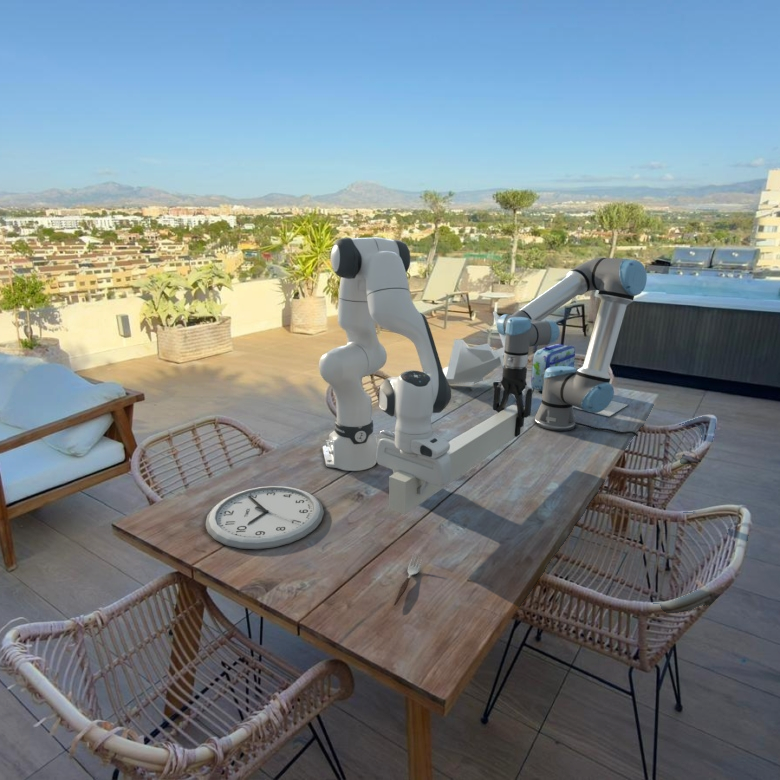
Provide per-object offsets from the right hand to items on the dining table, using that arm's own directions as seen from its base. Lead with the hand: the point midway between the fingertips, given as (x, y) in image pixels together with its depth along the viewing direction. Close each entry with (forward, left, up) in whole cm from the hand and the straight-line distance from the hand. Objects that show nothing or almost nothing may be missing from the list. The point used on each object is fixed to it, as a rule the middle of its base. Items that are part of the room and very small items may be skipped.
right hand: (509, 433), depth 175 cm
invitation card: (-45, -57, -8) cm, 73 cm away
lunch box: (-28, -81, -8) cm, 86 cm away
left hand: (+29, +50, +3) cm, 58 cm away
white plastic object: (+6, -69, -8) cm, 70 cm away
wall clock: (+67, +50, -8) cm, 84 cm away
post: (+15, +25, -1) cm, 29 cm away
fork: (+28, +72, -8) cm, 77 cm away
